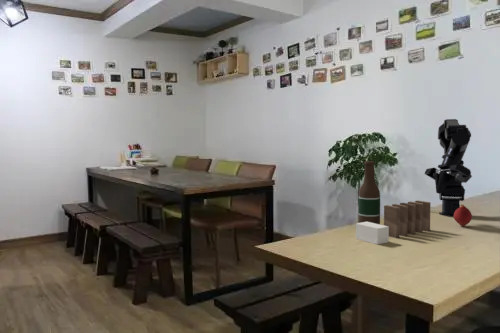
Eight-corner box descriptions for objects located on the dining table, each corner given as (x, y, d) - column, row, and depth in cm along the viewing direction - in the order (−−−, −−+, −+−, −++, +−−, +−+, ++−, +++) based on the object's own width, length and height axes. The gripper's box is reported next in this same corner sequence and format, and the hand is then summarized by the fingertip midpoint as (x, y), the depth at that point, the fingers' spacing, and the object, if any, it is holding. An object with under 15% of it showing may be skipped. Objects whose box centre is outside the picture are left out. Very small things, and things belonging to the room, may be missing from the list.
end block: (366, 236, 138) (366, 221, 138) (388, 242, 131) (388, 226, 130) (355, 238, 136) (355, 223, 136) (377, 244, 128) (377, 228, 128)
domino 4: (410, 229, 147) (410, 201, 146) (422, 232, 143) (423, 203, 142) (407, 230, 146) (407, 202, 145) (419, 233, 142) (420, 203, 141)
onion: (467, 224, 153) (468, 203, 152) (474, 228, 147) (475, 205, 147) (451, 224, 154) (451, 203, 153) (457, 228, 148) (457, 205, 147)
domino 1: (387, 234, 141) (387, 205, 140) (399, 237, 137) (399, 207, 136) (383, 235, 140) (384, 205, 139) (396, 238, 136) (396, 207, 135)
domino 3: (402, 231, 145) (403, 202, 144) (415, 234, 141) (415, 204, 140) (399, 231, 144) (400, 203, 143) (412, 234, 140) (412, 205, 139)
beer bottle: (355, 227, 151) (356, 161, 149) (360, 223, 158) (361, 160, 156) (377, 229, 148) (378, 162, 146) (382, 225, 154) (382, 160, 152)
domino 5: (417, 228, 149) (417, 200, 148) (430, 230, 145) (430, 202, 144) (414, 228, 148) (415, 200, 147) (427, 231, 144) (427, 202, 143)
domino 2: (395, 232, 143) (395, 203, 142) (407, 235, 139) (407, 205, 138) (391, 233, 142) (392, 204, 141) (404, 236, 138) (404, 206, 137)
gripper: (490, 163, 146) (474, 203, 143) (454, 168, 164) (439, 203, 162) (464, 148, 145) (447, 187, 142) (431, 155, 163) (416, 190, 160)
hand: (438, 193), depth 152 cm, fingers closed
